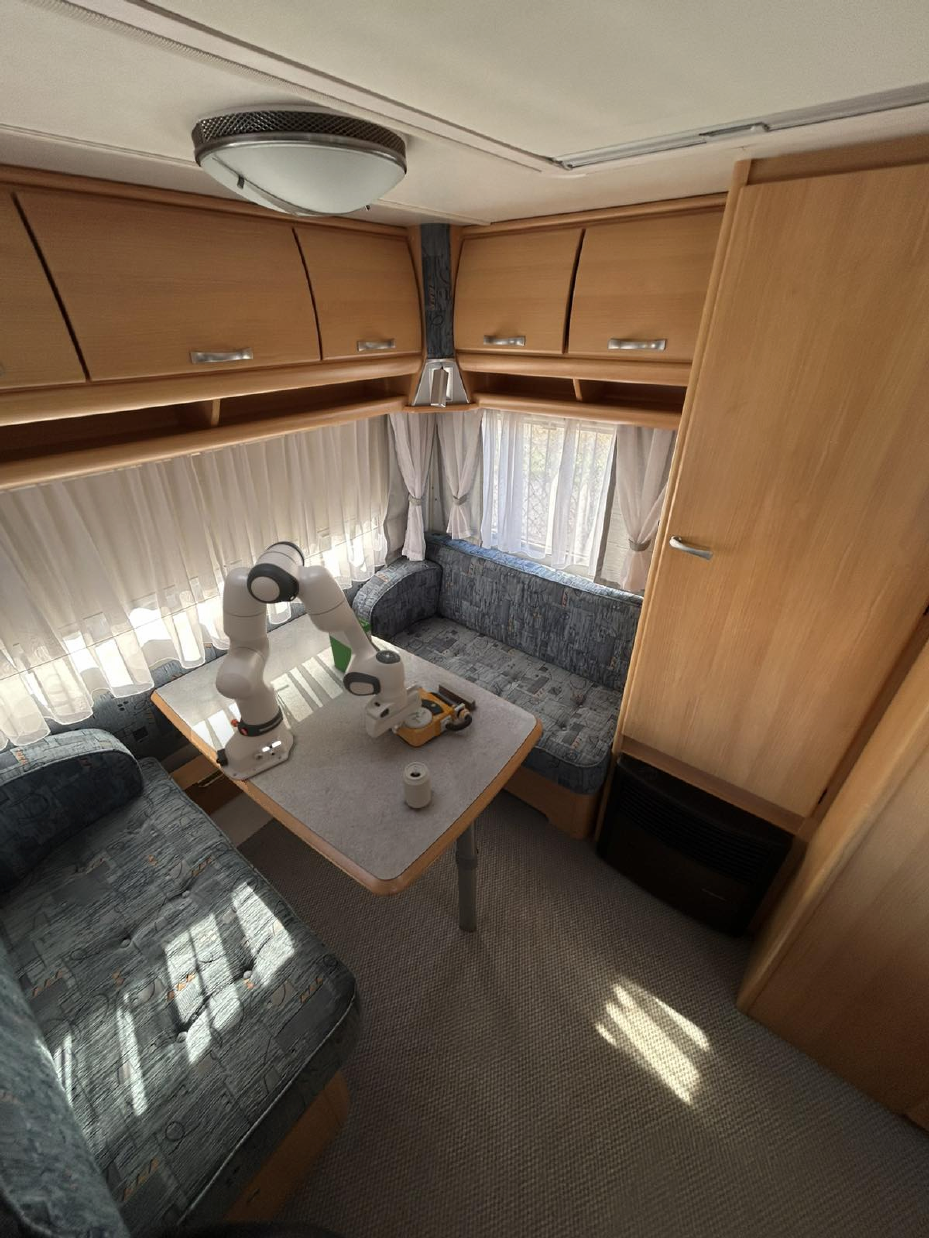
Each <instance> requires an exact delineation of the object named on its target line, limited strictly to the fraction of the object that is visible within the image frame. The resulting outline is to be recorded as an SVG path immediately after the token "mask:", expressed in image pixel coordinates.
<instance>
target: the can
mask: <svg viewBox="0 0 929 1238" xmlns="http://www.w3.org/2000/svg"><path fill="white" fill-rule="evenodd" d="M402 782H403V783H402V784H403V789H404V790H403V791H404V799H405V802H406V804H407V805H408V806H409V807H410V808H414V809H419V808H423V807H426V806H427V805H428V804H430V801H431V799H432V788H431V775H430V770H429V768H428V767H427V766H426V765H425V764H424V763H422V762H419V761H415V762H410V763H408V765H406V766H405V768H404V770H403V772H402Z"/></svg>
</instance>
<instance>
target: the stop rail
mask: <svg viewBox="0 0 929 1238" xmlns="http://www.w3.org/2000/svg"><path fill="white" fill-rule="evenodd" d="M438 692H439V693H440V694H442V695H444V697H447V698H448V699H450V700H451V701H454V702H455V703H457V704H458V705H461V704H462V703H463V704H464V705H465V709H467V710H468V711H469V712H472V711H473V710H475V709H476V699H474V698H472V697H471V696H469V695H468V694H465V693H464V692H462V691H461V690H459V689H457V688H455V687H453V686H452V685H450V684H449V683H447V682H445V681H442V682H440V683H439V684H438Z"/></svg>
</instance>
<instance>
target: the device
mask: <svg viewBox="0 0 929 1238" xmlns="http://www.w3.org/2000/svg"><path fill="white" fill-rule="evenodd" d="M417 685H418V686H419V693H420V696H421V701H422V705H421V707H420V708H419V709H418V710H416V711H415V712H413V713H412V714H410V715H409V716H407V717H406V718H404V721H403V723H402V726H401V730H400V731H399V732H397V733H396V735H398V736H400V737H401V738H402V739H403V740H405V741H406V742H407V743H408V744H409V745H410V746H414V747H418V746H421V745H424V744H426V742H428V741H429V740H431V739H433V738H434V737H437V736H438V735H440V734H441V733H443V732H444V731H446V730H448V731H451V732H460V731H463V730H465V729H466V728H468V727H470V725H471V724H472V723H473V717H472V714H471V713H470V710H468V709H467V708H465V705H464V704H463V703H462V704H461V705H460V704H458V705H455V704H454V703H451V701H449V700H447V698H445V697H444V696H442V695H440V694H439V693H437V692H435V691H426V690H425V689H423V687H422V685H420V684H419V683H418V684H417ZM408 687H409V686H406V688H408ZM457 720H460V721H461V722H460V723H457V724H456V723H455V722H456V721H457ZM390 729H391V730H392V728H390Z"/></svg>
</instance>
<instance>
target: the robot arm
mask: <svg viewBox="0 0 929 1238" xmlns="http://www.w3.org/2000/svg"><path fill="white" fill-rule="evenodd" d="M305 561H306V559H305V555H304V552H303V551H302V549H301V548H300V547H299V546H298V545H297V544H296V543H294V542H291V541H287V540H283V541H282V540H281V541H277V542H275V543H273V544H271V545H269V547H268V548H266V549H265V551H264V552H263V553H262V554H261V555H260V556H259V557H258V559H257V561H256V562H255V563H254V565H253V566H252V567H248V566H240V567H236V568H233V569H231V570H230V571H229V572H228V573H227V574H226V576H225V580H224V585H223V590H222V630H223V633H224V634H225V636H227V637H228V639H229V647H228V650H227V652H226V655H225V657H224V658H223V660H222V662H221V663H220V666H219V668H218V670H217V672H216V679H215V688H216V690H217V692H218V693H219V694H220V695H221V696H223V697H224V698H226V699H230V700H234V702H235V703H236V706H237V709H238V712H239V715H240V719H239V721H238V719H237V718H233V719H231V721H230V725H231V726H232V727H233V728H237V729H236V731H235V732H234V733H233V735H231V737H230V738H229V739H228V741H227V742H226V743H225V746H224V747H223V748H221V749H218V750H216V754H217V758H216V760H215V763H216V764H218V765H219V766H220V769H221V770H222V772H223V774H225V775H226V776H227V777H228V778H229V779H231V780H234V781H236V782H242V781H244V780H246V779H248V778H251V777H253V776H255V775H257V774H259V773H261V772H264V771H265V770H268V769H270V768H273V767H274V766H277V765H278V764H281V763H284V762H285V761H286V760H288V758H289V753H290V750H291V749H292V747H293V744H294V737H293V735H292V733H291V732H290V730H289V729H288V728H287V726H286V724H285V721H284V714H283V710H282V708H281V706H280V704H279V702H278V699H277V696H276V693H275V689H274V687H273V686H272V685H271V684H269V683H267V682H265V678H264V672H265V668H266V666H267V663H268V661H269V659H270V657H271V650H272V641H271V639H270V637H269V636H268V632H267V631H268V630H267V619H268V616H267V614H268V611H267V609H268V605H275V604H280V603H291V602H294V600H295V599H296V598H298V600H299V601H300V602H301V604H302V606H303V607H304V610H305V612H306V614H307V615H308V618H309V619H310V621H311V623H312V624H313V625H314V628H316V629H317V630H318V631H320V632H322V633H326V634H329V633H335V632H339V631H341V632H342V633H343V635H344V637H345V638H346V640H347V642H348V643H349V645H350V647H351V659H350V662H349V665H348V667H347V669H346V672H345V673H344V675H343V678H342V684H343V687H344V689H345V690H346V691H347V692H348V693H350V695H353V696H357V697H367V696H373V697H372V698H371V699H370V700H369V702H367V703H366V704H365V706H364V711H365V712H366V714H365V718H364V721H365V724H364V725H365V730H366V733H367V734H368V735H369V736H370V737H372V738H374V739H376V738H378V737H379V736H381V735H382V734H384V733H386V732H387V731H388V730H390V729H391V728H392V729H391V731H392V733H393V734H396V735H397V732H399V731H400V730H401V726H402V723H403V721H404V718H406V717H407V716H409V715H410V714H412V713H413V712H415V711H416V710H418V709H419V708H420V707H421V705H422V701H421V696H420V693H419V686H418V684H411V685H410V686H407V685H406V683H405V681H406V672H405V666H404V662H403V660H402V657H401V656H400V654H398V652H396V651H394V650H391V649H380V647H378V646H377V645H376V644H375V643H374V642H373V640H372V641H371V640H370V638H369V637H368V635H367V633H366V631H365V629H364V628H363V626H362V624H361V622H360V620H359V619H358V617H359V616H358V615H357V614H356V612H355V611H354V610H353V608H351V606H350V604H349V601H348V600H347V597H346V595H345V593H344V591H343V589H342V586H341V585H340V584H339V582H338V580H337V579H336V577H335V576H334V574H333V573H332V571H331V570H330V569H329V568H328V567H326V566H324V565H321V564H313V565H310V566H305V565H306V563H305ZM406 687H408V688H406Z"/></svg>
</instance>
